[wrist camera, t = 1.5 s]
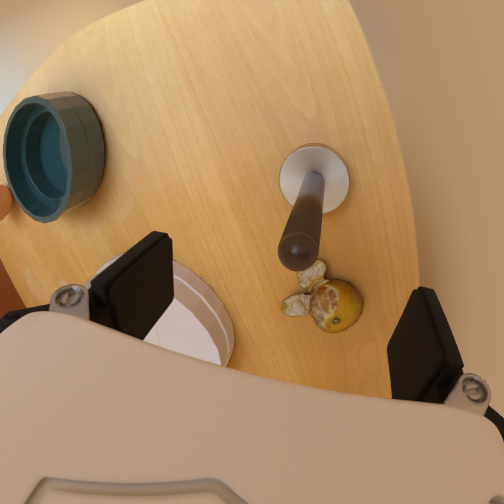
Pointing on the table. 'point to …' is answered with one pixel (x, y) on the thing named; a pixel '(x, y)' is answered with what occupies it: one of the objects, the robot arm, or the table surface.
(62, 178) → the bowl
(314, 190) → the upright rod
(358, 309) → the fruit
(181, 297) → the dish
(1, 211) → the egg
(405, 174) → the table surface
